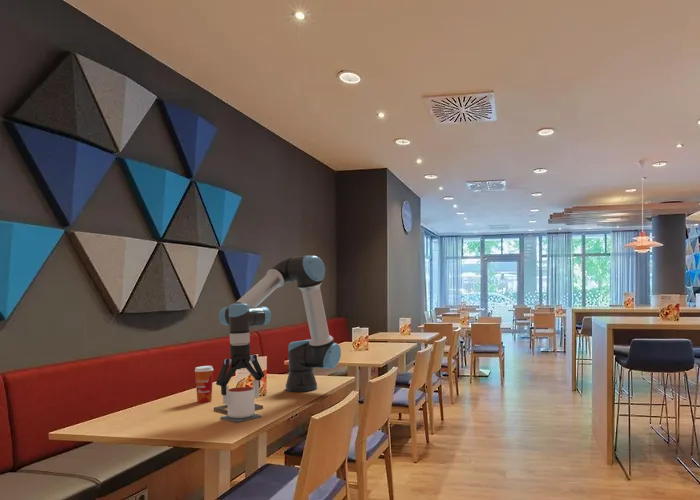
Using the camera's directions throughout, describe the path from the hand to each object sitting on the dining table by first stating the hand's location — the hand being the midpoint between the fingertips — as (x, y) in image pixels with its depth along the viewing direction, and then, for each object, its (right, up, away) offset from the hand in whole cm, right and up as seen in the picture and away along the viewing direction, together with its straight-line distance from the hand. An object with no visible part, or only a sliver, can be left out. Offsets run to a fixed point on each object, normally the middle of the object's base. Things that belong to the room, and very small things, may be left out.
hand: (241, 400), depth 200 cm
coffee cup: (-23, -10, +31) cm, 40 cm away
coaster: (0, -6, -1) cm, 6 cm away
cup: (0, -6, -1) cm, 6 cm away
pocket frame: (-4, -8, +14) cm, 16 cm away
